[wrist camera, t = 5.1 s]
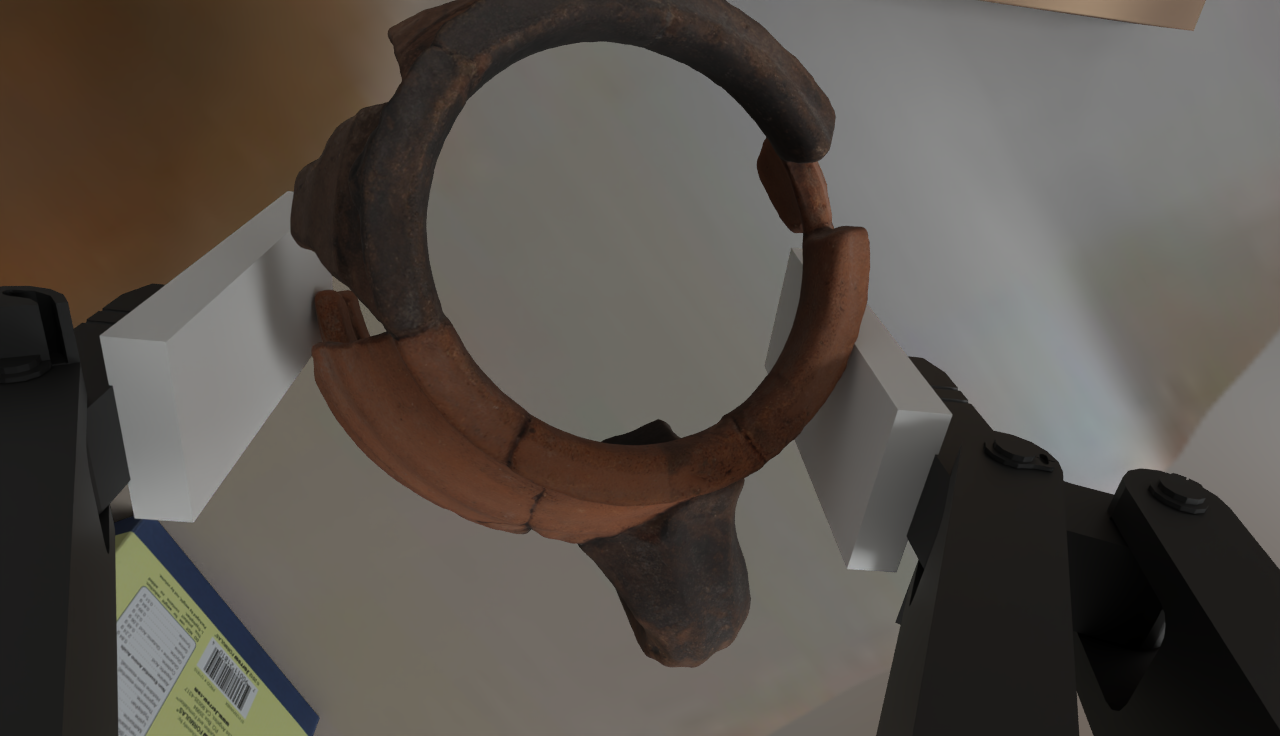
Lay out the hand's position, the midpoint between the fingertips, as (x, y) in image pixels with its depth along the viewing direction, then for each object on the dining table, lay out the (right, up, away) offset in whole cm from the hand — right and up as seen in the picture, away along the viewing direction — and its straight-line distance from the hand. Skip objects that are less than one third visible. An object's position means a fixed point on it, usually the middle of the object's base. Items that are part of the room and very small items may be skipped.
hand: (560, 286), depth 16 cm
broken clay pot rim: (+1, 0, +1) cm, 1 cm away
